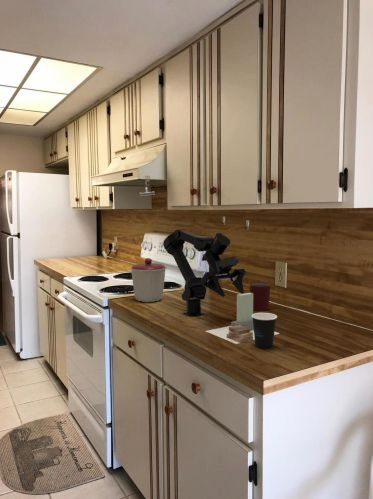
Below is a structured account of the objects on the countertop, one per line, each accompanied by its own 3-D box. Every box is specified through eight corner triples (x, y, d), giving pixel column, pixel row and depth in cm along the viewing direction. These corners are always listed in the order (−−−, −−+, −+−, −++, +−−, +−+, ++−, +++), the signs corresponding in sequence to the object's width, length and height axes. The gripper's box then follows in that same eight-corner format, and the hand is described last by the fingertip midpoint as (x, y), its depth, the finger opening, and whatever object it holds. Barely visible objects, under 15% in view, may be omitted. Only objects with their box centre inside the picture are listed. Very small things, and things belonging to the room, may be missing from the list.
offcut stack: (226, 337, 138) (226, 327, 138) (239, 334, 141) (239, 324, 141) (240, 343, 132) (240, 332, 132) (254, 339, 135) (254, 329, 135)
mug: (242, 306, 188) (242, 282, 187) (258, 304, 192) (258, 281, 191) (257, 312, 177) (257, 287, 176) (274, 310, 181) (274, 285, 180)
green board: (236, 330, 146) (236, 294, 145) (249, 327, 150) (249, 292, 148) (240, 331, 145) (240, 295, 143) (252, 328, 148) (253, 293, 147)
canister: (124, 299, 204) (123, 257, 202) (154, 295, 215) (154, 255, 213) (142, 306, 190) (141, 261, 188) (174, 301, 200) (173, 258, 198)
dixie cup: (277, 346, 132) (277, 313, 131) (276, 354, 124) (276, 319, 123) (252, 344, 134) (252, 311, 133) (250, 352, 126) (250, 318, 125)
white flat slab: (205, 334, 146) (205, 322, 145) (247, 325, 156) (247, 314, 156) (236, 347, 131) (236, 334, 131) (279, 336, 142) (280, 325, 142)
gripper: (204, 250, 149) (223, 284, 141) (243, 247, 159) (262, 279, 151) (192, 269, 156) (210, 302, 148) (230, 265, 167) (248, 296, 159)
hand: (233, 294), depth 151 cm, fingers open, 9 cm apart
